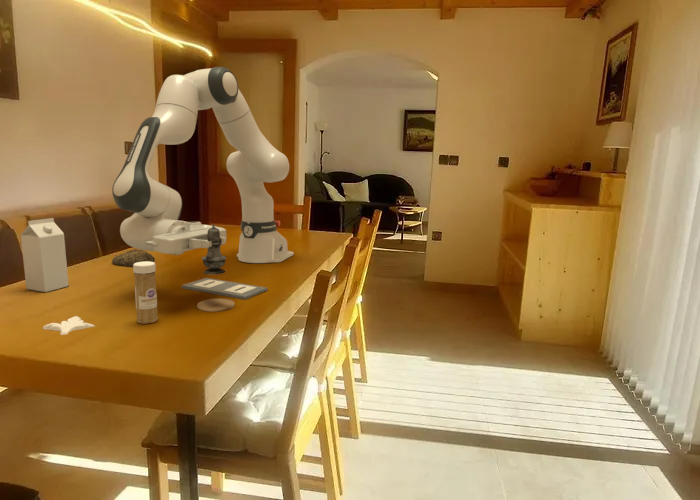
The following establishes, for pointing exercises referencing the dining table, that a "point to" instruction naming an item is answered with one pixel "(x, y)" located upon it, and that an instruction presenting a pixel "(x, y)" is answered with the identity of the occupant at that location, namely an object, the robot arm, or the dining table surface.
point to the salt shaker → (214, 254)
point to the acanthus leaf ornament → (68, 325)
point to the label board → (225, 288)
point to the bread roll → (132, 258)
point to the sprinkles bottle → (145, 292)
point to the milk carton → (44, 256)
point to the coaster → (215, 305)
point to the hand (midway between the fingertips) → (216, 242)
